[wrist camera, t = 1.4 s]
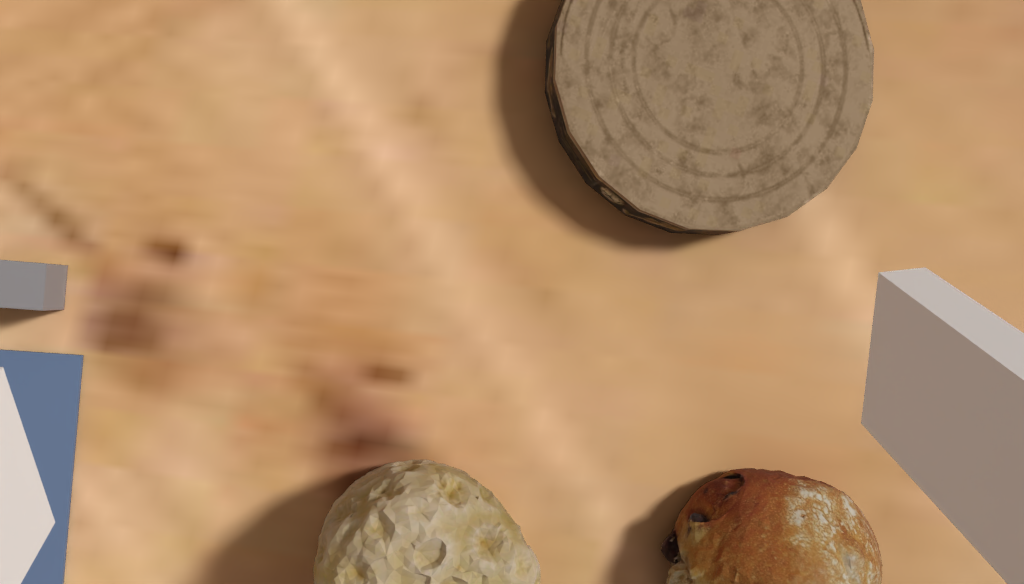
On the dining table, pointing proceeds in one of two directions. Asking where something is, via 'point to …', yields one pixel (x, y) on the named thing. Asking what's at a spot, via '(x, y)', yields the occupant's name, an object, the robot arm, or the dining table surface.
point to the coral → (421, 531)
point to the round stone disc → (709, 104)
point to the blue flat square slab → (48, 440)
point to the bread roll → (771, 533)
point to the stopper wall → (32, 285)
